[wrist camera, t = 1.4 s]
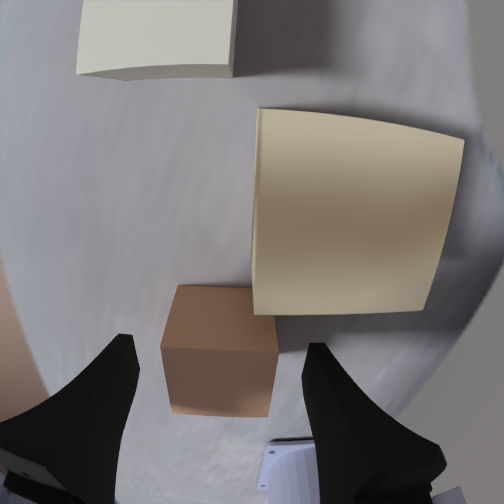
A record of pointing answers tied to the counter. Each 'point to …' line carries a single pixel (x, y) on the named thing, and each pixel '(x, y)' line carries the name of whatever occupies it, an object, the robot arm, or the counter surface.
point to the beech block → (348, 213)
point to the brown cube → (219, 353)
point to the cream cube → (157, 39)
